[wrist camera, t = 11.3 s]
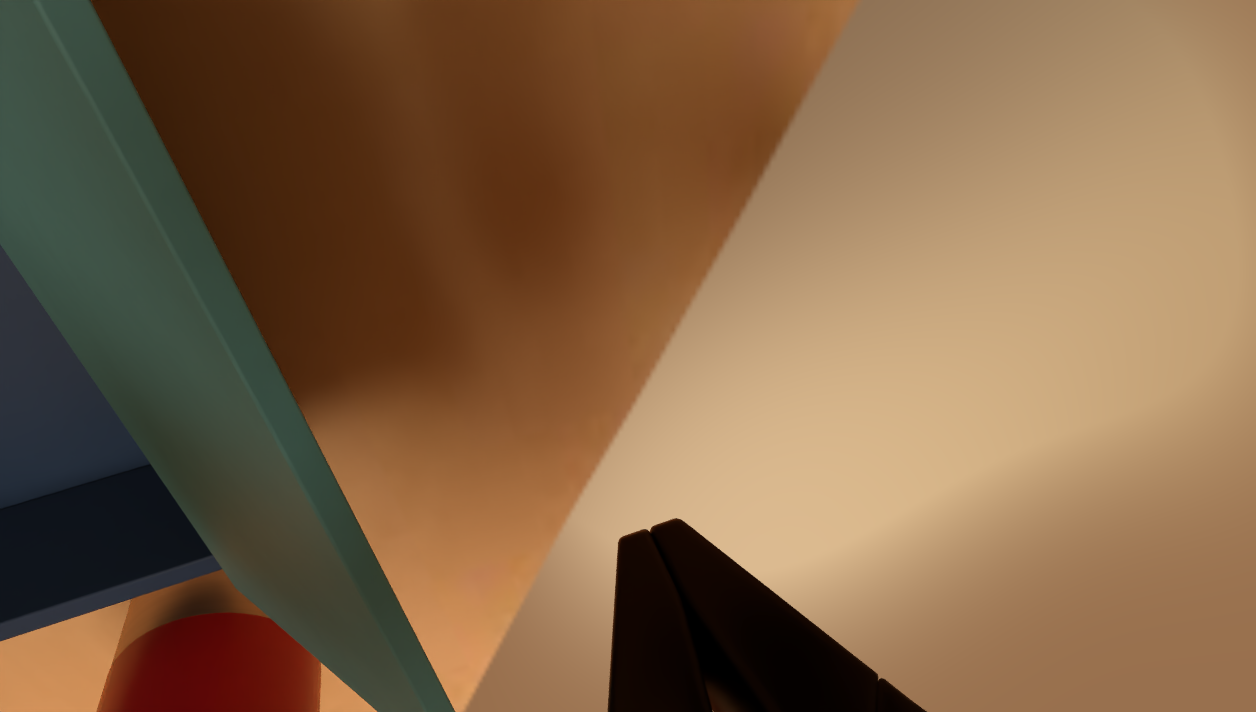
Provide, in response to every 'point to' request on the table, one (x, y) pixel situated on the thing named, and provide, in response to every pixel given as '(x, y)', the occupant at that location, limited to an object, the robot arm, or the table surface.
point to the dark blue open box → (74, 484)
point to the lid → (184, 349)
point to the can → (207, 655)
